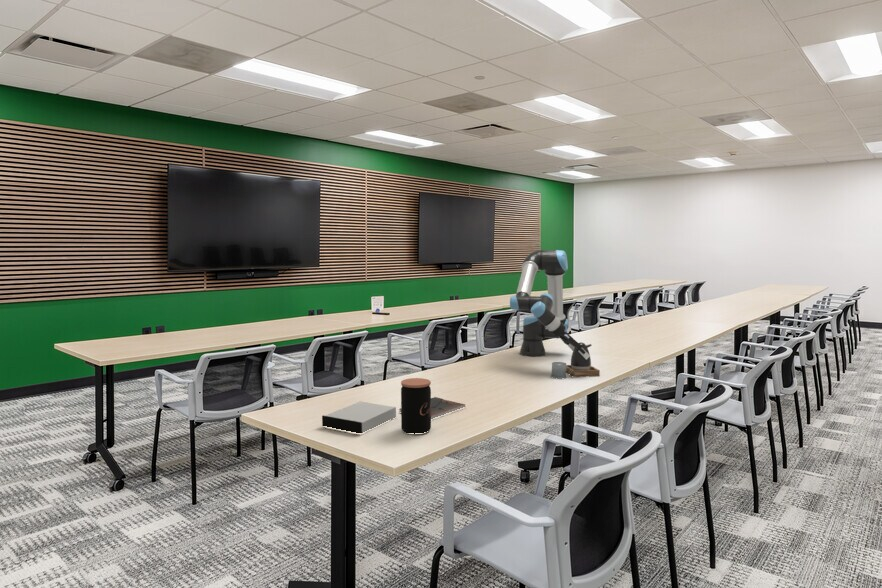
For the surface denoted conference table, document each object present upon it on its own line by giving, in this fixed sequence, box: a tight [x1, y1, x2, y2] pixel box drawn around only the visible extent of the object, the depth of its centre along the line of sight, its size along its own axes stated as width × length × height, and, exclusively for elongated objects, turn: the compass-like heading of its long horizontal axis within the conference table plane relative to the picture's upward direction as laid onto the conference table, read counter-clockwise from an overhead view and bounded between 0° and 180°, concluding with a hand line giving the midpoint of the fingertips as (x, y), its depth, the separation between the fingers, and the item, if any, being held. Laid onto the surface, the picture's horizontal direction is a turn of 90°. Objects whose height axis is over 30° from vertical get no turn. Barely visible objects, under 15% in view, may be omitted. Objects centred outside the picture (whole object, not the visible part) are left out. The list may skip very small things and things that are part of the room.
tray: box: [566, 364, 601, 378], centre depth 288 cm, size 14×14×3 cm
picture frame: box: [398, 396, 466, 419], centre depth 224 cm, size 16×2×22 cm
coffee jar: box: [400, 377, 432, 434], centre depth 199 cm, size 11×11×18 cm
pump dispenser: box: [570, 342, 592, 371], centre depth 287 cm, size 10×10×15 cm
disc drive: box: [321, 401, 397, 433], centre depth 209 cm, size 18×22×5 cm
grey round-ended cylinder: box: [551, 361, 567, 380], centre depth 280 cm, size 7×7×7 cm
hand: (582, 354), depth 287 cm, fingers open, 13 cm apart
